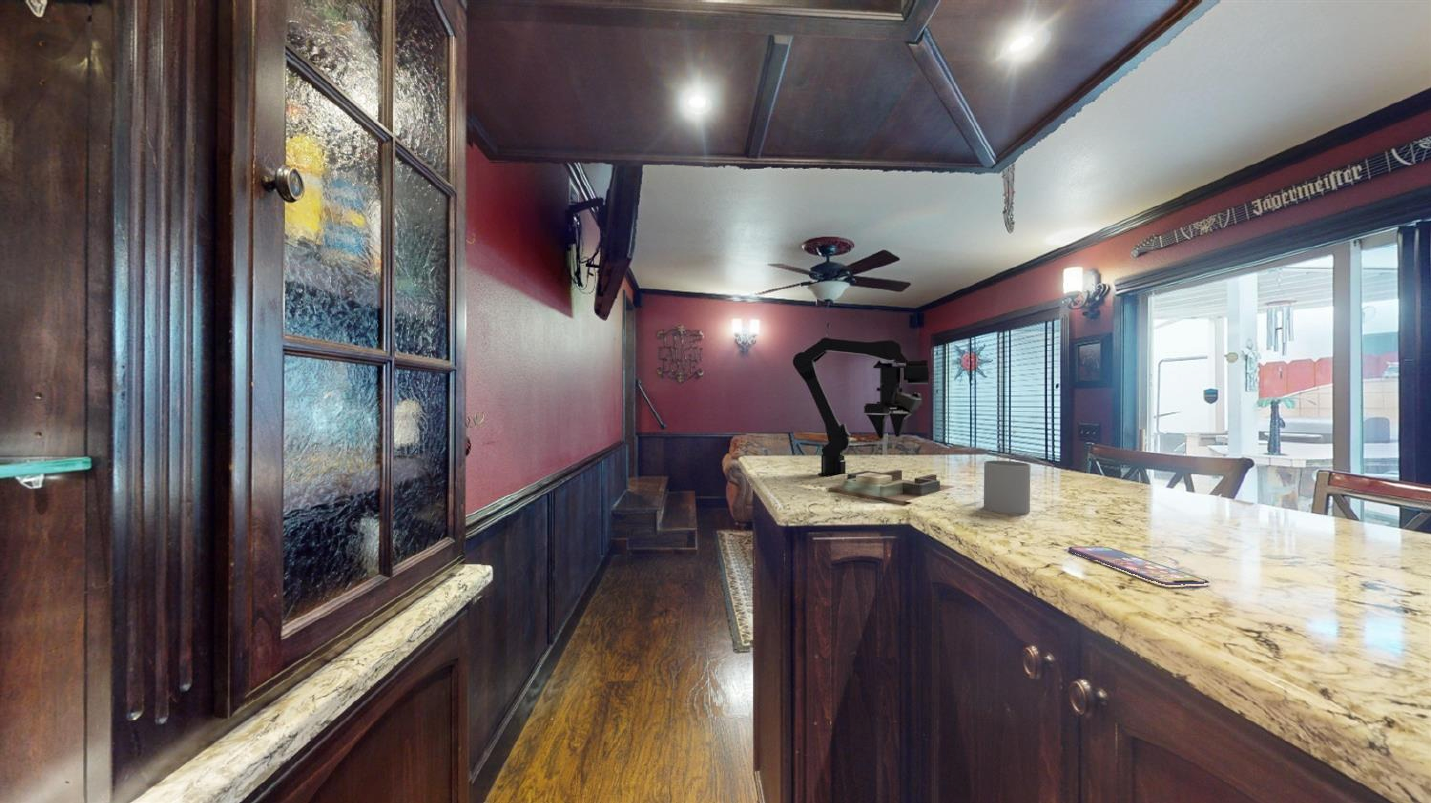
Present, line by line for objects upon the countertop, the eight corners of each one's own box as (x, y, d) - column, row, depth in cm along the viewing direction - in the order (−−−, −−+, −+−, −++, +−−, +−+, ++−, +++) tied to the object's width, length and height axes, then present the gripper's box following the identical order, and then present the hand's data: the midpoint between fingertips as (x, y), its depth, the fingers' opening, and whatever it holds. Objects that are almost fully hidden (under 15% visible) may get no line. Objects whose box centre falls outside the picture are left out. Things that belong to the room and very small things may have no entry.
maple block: (855, 491, 116) (856, 475, 116) (869, 488, 120) (869, 472, 120) (878, 495, 112) (878, 478, 112) (891, 492, 116) (891, 475, 116)
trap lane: (828, 491, 121) (828, 477, 121) (882, 479, 138) (882, 467, 138) (903, 505, 106) (903, 489, 106) (954, 490, 123) (954, 477, 123)
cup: (1017, 505, 106) (1017, 460, 106) (1038, 515, 98) (1038, 466, 98) (977, 504, 107) (977, 460, 107) (994, 514, 99) (995, 465, 99)
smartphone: (1105, 551, 77) (1214, 589, 62) (1064, 552, 76) (1164, 590, 61) (1105, 546, 77) (1214, 582, 62) (1064, 546, 76) (1164, 583, 61)
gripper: (899, 383, 128) (899, 441, 128) (932, 384, 140) (931, 437, 140) (862, 383, 136) (862, 438, 136) (896, 384, 148) (895, 435, 148)
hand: (889, 437), depth 140 cm, fingers open, 9 cm apart
